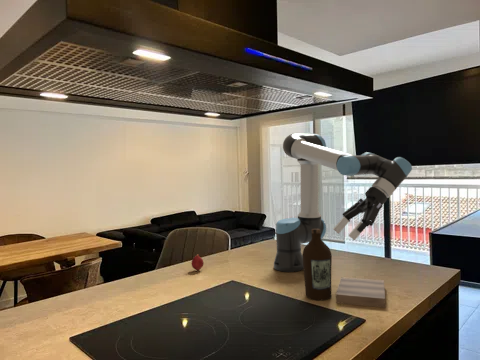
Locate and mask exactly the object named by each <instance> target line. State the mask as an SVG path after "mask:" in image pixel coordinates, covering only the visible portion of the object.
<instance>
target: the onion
mask: <svg viewBox="0 0 480 360" xmlns="http://www.w3.org/2000/svg"><path fill="white" fill-rule="evenodd" d="M204 264H205V263H204V260H203V258H202V257H201V256H199V254H196V255H195V256H194V257H193V258H192V260H191V267H192V268H193V269H195V270H196V271H197V272H198V271H200V270H201V269H202V268H203V267H204Z"/></svg>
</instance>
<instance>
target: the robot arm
mask: <svg viewBox="0 0 480 360" xmlns="http://www.w3.org/2000/svg"><path fill="white" fill-rule="evenodd" d="M282 150H283V152H284V153H285V155H286V156H288V157H290V158H293V159H296V160H297V162H298V163H299V165H300V212H299V213H298V214H297V217H289V218H288V217H287V218H282V219H280V220H278V221H277V222H276V224H275V235H276V236H275V237H276V254H275V258H274V260H273V269H274V270H276V271H279V272H283V273H284V272H286V273H289V272H290V273H291V272H293V273H294V271H295V272H300V270H301V271H304V267H303V257H302V254H303V252H302V245H304V244H308V243H309V242H310V241H311V239H312V234H311V233H312V229H320V233H321V240H322V239H323V238H324V237H325V235H326V232H327V224H326V223H325V220H324V218H322V215H321V214H320V212H319V165H320V166H324V167H327V168H330V169H332V170H336V171H338V172H339V174H340V175H342V176H348V177H351V176H360V175H363V176H364V175H374V176H376V177H378V178H377V179H376V180H375V181H374V182H373V183H372V185H371V186H370V187H368V189H367V190H366V191H365V192H364V195H365V197H366V198H365V199H362V198H360V199H358V200H357V201H356V202H355V203H354V204H353V205H351V206H350V207H349V208H348V209H346V211H344V212H343V213H342V218H341V219H340V220H339V222H338V223H337V224H336V225H335V226H334V227H333V228H332V229H333V230H334V231H335V232H336V233H337V234H340V233H341V232H342V231H343V229H344V228H345V227H346V226H347V225H348V223H350V221H351V219H354V218H355V217H357V216H358V215H359V214H363V217H362V219H361V220H360V221H359V222H358V223H357V224H356V226H355V227H354V228H353V229H352V230H351V231H350V232H349V234H348V236H349V238H351V239H352V240H353V241H355V240H357V238H358V237H359V236H360V234H362V232H364V230H366V227H369V226H370V227H372V226H373V225H374V223H375V221H376V219H377V217H378V215H379V212H380V210H382V208H383V205H384V204H385V203H386V202H387V200H388V198H390V196H392V195H393V193H394V192H395V191H396V190H397V189H398V187H399V186H400V185H401V183H403V181H404V180H406V178H407V177H408V175H410V173H411V172H412V170H413V166H412V164H411V163H410V162H409V161H408V160H407V159H405V158H404V157H402V156H397V157H395V158H394V159H393V160H390V159H387V158H385V157H382V156H380V155H377V154H375V153H372V152H367V151H366V152H364V153H362V154H360V155H357V154H356V155H355V154H351V153H347V152H343V151H341V150H336V149H333V148H330V147H329V148H328V147H327V143H326V141H325V139H324V138H323V136H322V135H320V134H318V133H298V132H295V133H292V134H289V135H288V136H286V137H285V139H284V140H283V143H282Z"/></svg>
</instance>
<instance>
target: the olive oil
mask: <svg viewBox="0 0 480 360" xmlns="http://www.w3.org/2000/svg"><path fill="white" fill-rule="evenodd" d="M311 234H312V239H311V241H310V242H308V243H306V245H305V246H304V248H303V251H302V257H303V267H304V269H303V278H304V279H303V280H304V289H305V297H306V298H308V299H309V300H314V301H326V300H327V301H328V300H329V299H330V298H331V297H332V262H333V260H332V258H333V257H332V255H333V254H332V252H331V248H330V247H329V246H328V245H327V244H326V243H325V242H324V241H323V240H322V239H321V233H320V229H312V233H311Z"/></svg>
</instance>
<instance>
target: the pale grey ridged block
mask: <svg viewBox="0 0 480 360" xmlns="http://www.w3.org/2000/svg"><path fill="white" fill-rule="evenodd" d="M335 302H336V304H345V305H354V306H355V305H357V306H365V307H376V308H386V292H385V280H384V279H371V278H370V279H369V278H356V277H344V276H343V277H342V276H341V277H340V280H339V283H338V287H337V290H336V293H335Z"/></svg>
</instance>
